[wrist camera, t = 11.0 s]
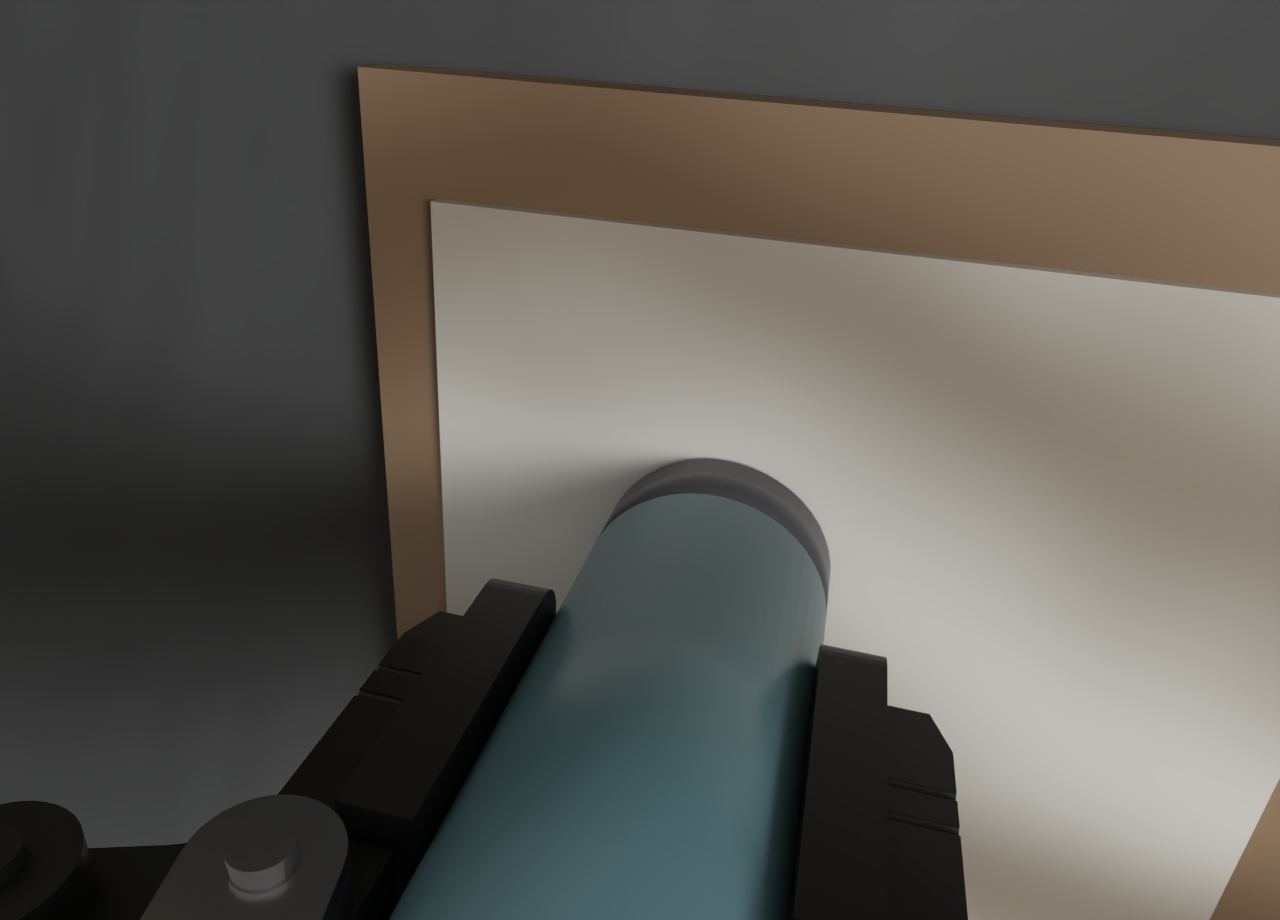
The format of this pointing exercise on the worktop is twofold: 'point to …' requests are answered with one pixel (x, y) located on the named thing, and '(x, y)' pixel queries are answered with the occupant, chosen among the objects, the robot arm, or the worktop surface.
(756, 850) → the bottle
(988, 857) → the clipboard
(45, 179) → the worktop surface
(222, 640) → the worktop surface
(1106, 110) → the worktop surface
